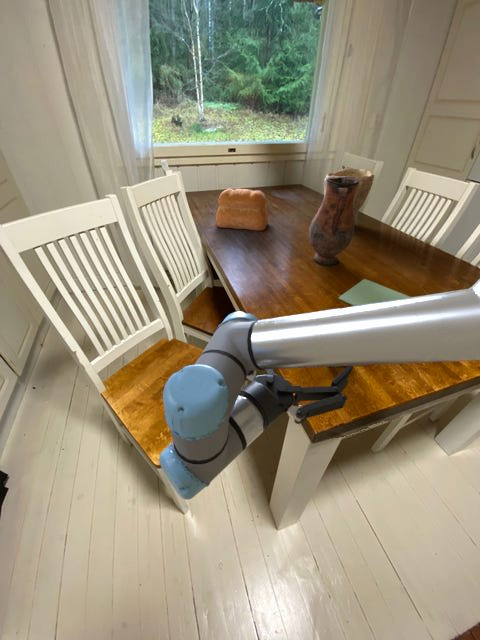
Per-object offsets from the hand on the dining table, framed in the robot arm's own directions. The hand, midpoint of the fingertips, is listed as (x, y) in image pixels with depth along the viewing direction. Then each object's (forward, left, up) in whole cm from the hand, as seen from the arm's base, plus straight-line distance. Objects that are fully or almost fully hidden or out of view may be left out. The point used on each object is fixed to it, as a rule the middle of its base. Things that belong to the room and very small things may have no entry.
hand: (320, 350), depth 57 cm
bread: (+85, -59, -10) cm, 104 cm away
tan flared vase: (+52, -99, -10) cm, 112 cm away
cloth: (+4, -44, -10) cm, 45 cm away
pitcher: (+32, -55, -10) cm, 64 cm away
